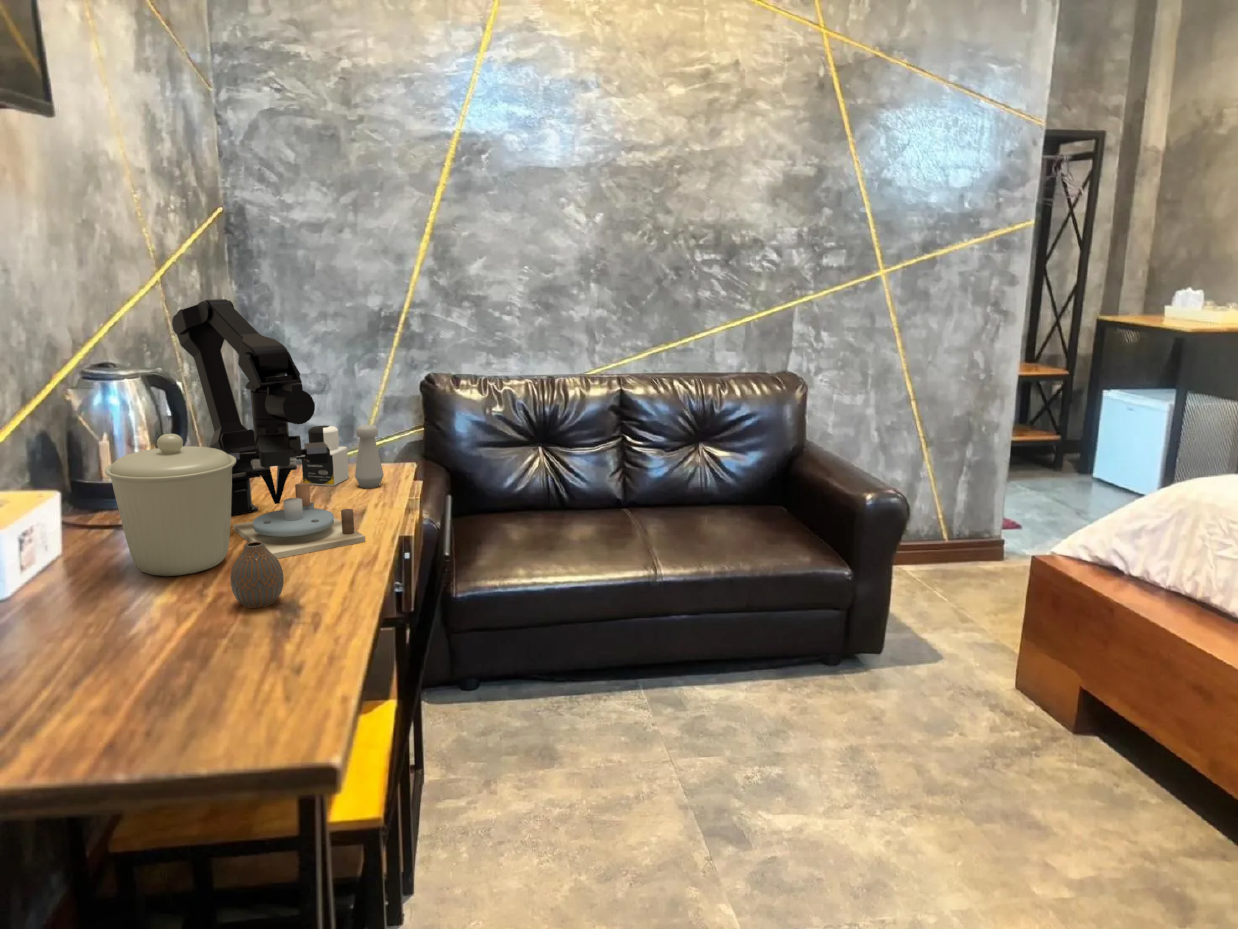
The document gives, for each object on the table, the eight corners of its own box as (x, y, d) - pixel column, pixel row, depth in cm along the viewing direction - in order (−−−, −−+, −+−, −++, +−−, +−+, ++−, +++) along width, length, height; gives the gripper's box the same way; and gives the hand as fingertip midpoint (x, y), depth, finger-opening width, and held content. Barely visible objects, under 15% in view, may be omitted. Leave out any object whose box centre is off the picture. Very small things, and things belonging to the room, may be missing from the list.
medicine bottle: (302, 484, 192) (298, 429, 189) (318, 476, 199) (315, 423, 196) (334, 486, 191) (330, 430, 188) (349, 478, 198) (346, 424, 195)
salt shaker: (379, 489, 189) (376, 428, 186) (352, 489, 189) (348, 427, 186) (387, 482, 194) (384, 423, 192) (360, 482, 195) (357, 422, 192)
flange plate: (327, 535, 150) (325, 506, 149) (245, 537, 148) (242, 508, 147) (342, 508, 166) (340, 481, 165) (268, 510, 164) (266, 483, 163)
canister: (99, 565, 142) (83, 433, 137) (215, 540, 155) (203, 418, 150) (144, 595, 130) (127, 452, 125) (265, 565, 143) (254, 434, 138)
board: (233, 530, 161) (231, 502, 159) (322, 515, 170) (320, 489, 169) (269, 560, 145) (267, 530, 144) (365, 541, 155) (363, 513, 154)
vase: (235, 615, 123) (229, 554, 121) (230, 598, 129) (225, 540, 127) (288, 607, 126) (284, 547, 124) (281, 591, 132) (277, 533, 130)
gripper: (211, 428, 147) (219, 521, 150) (331, 421, 154) (336, 509, 157) (211, 417, 157) (219, 504, 160) (324, 411, 164) (329, 494, 167)
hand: (277, 503), depth 161 cm, fingers closed
